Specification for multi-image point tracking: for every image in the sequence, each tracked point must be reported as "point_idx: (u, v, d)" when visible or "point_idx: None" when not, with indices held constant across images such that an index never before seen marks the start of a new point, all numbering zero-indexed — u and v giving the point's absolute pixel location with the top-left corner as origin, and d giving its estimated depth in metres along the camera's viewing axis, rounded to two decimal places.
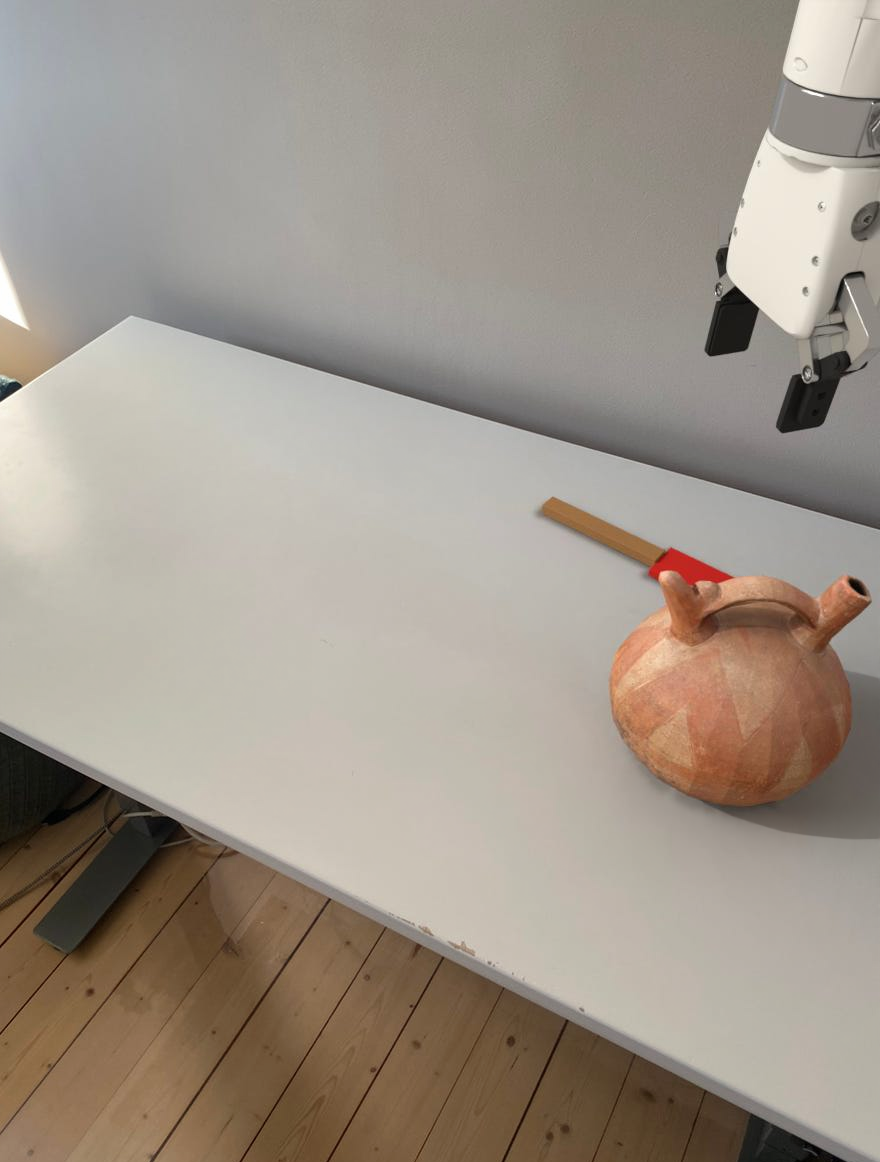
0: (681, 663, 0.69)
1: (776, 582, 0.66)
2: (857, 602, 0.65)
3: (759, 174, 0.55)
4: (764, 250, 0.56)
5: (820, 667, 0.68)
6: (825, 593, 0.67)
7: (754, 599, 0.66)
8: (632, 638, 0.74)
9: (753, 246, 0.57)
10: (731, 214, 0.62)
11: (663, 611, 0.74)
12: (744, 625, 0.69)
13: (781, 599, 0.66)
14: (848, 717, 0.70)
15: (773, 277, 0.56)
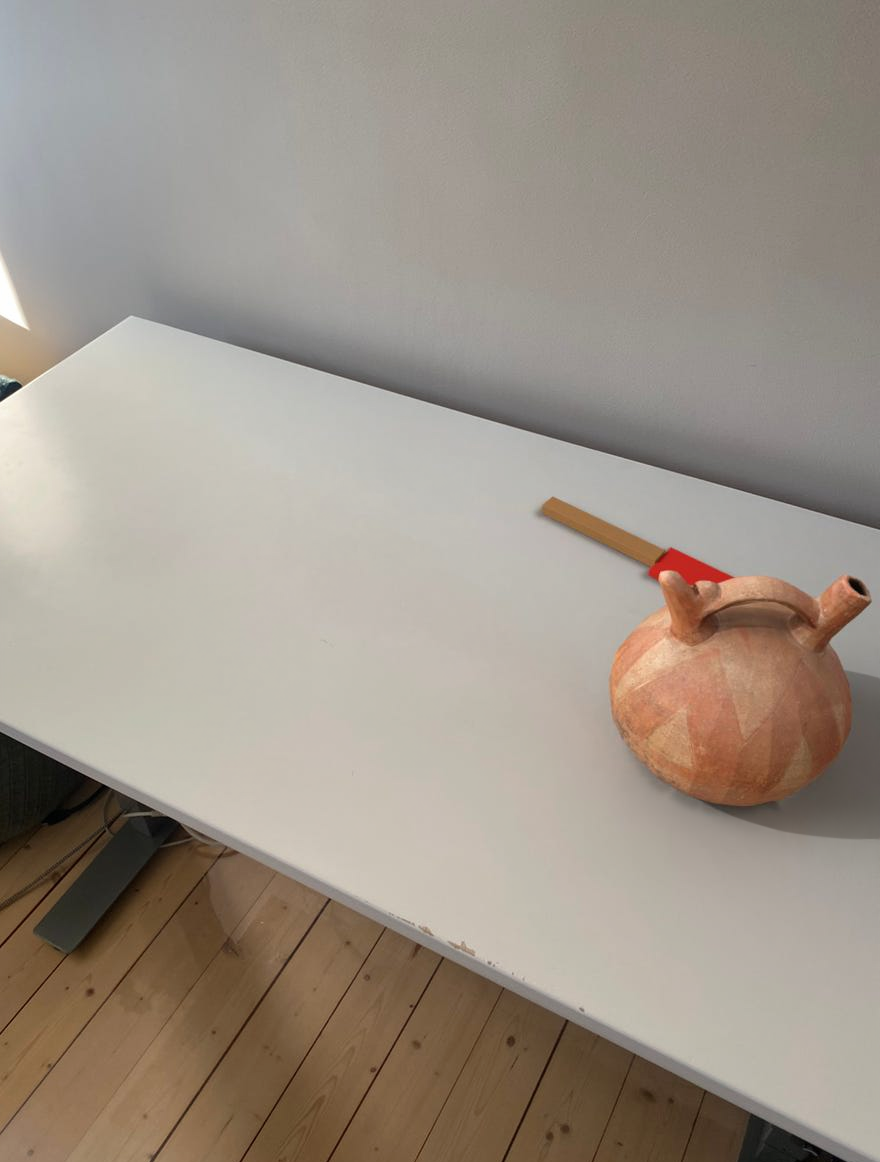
0: (681, 663, 0.69)
1: (776, 582, 0.66)
2: (857, 602, 0.65)
3: None
4: None
5: (820, 666, 0.68)
6: (824, 593, 0.67)
7: (754, 599, 0.66)
8: (632, 638, 0.74)
9: None
10: None
11: (663, 611, 0.74)
12: (744, 625, 0.69)
13: (781, 599, 0.66)
14: (848, 717, 0.70)
15: None
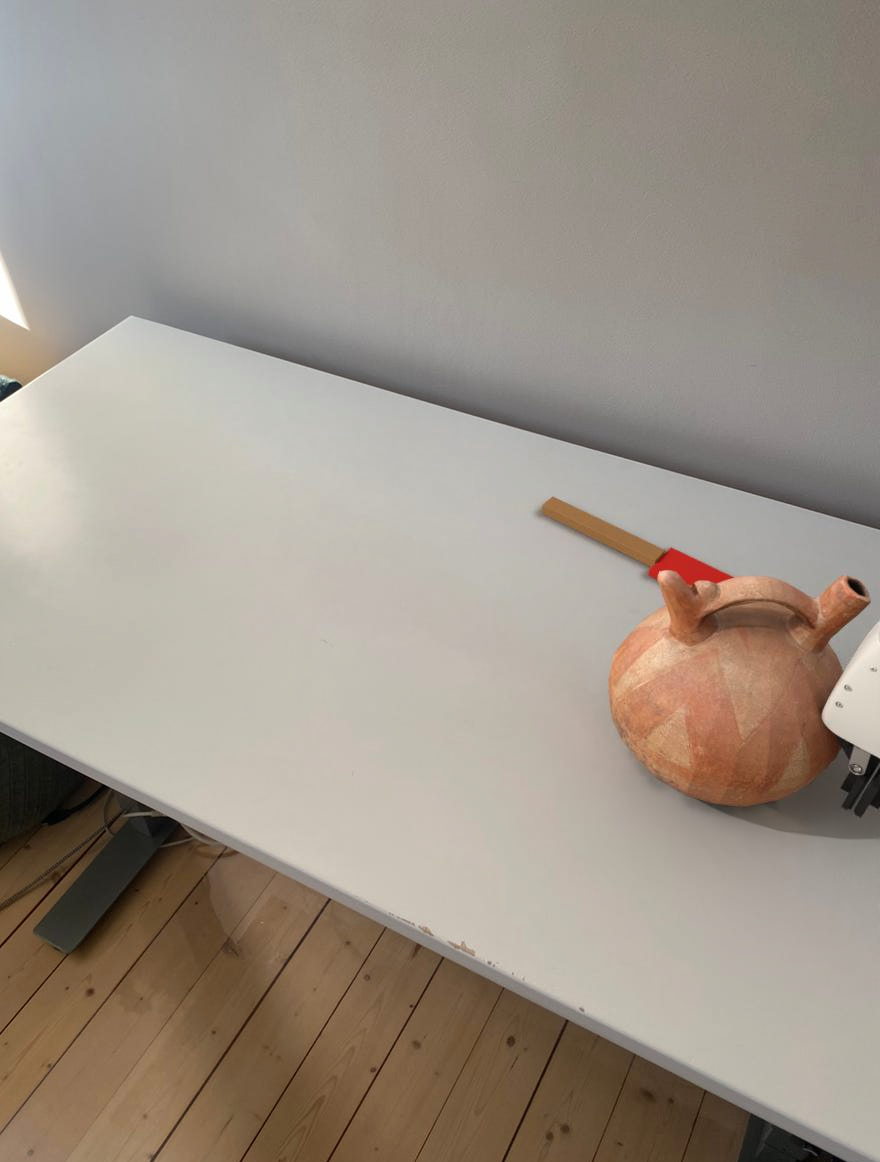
0: (680, 663, 0.69)
1: (775, 582, 0.66)
2: (856, 602, 0.65)
3: (877, 678, 0.61)
4: None
5: (819, 667, 0.68)
6: (824, 593, 0.67)
7: (753, 599, 0.66)
8: (631, 638, 0.74)
9: (876, 724, 0.63)
10: None
11: (662, 611, 0.74)
12: (743, 625, 0.69)
13: (780, 599, 0.66)
14: None
15: None
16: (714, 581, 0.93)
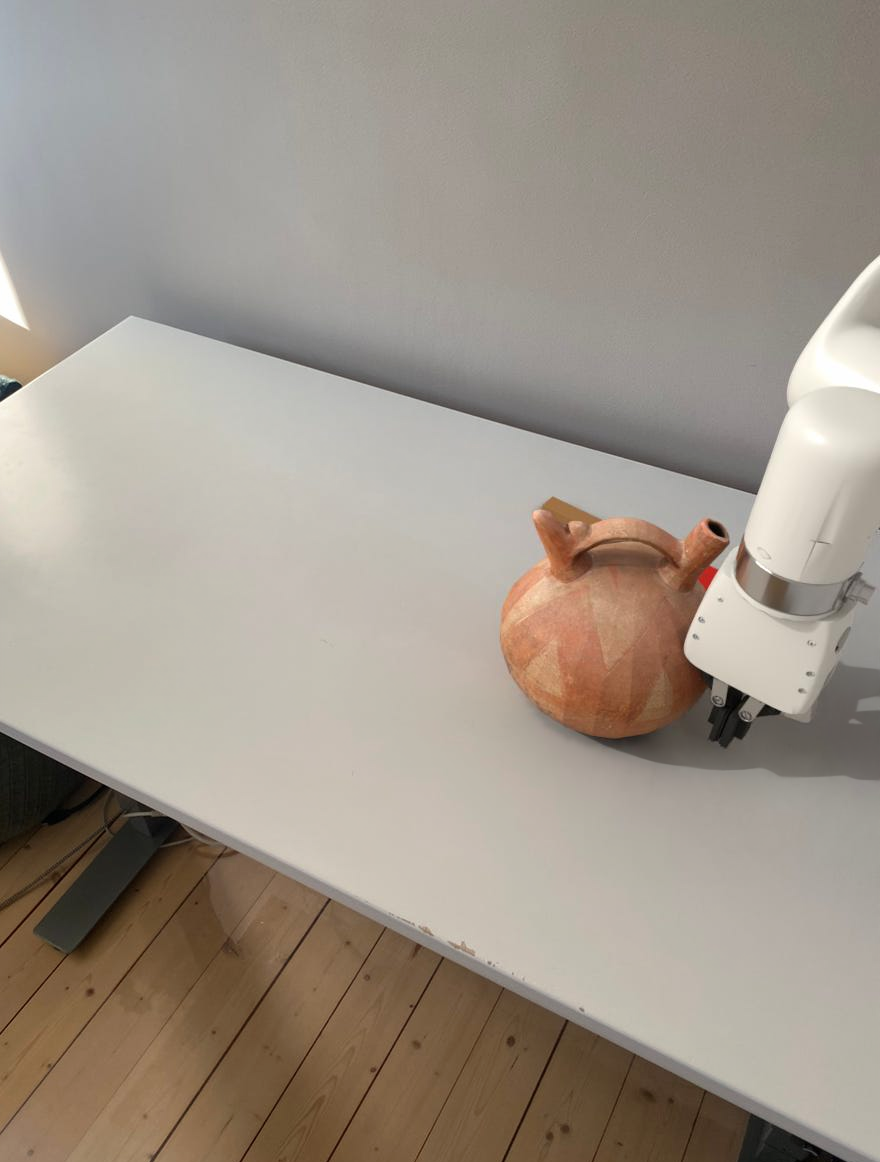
0: (555, 598, 0.74)
1: (641, 523, 0.71)
2: (713, 542, 0.69)
3: (724, 608, 0.65)
4: (744, 659, 0.67)
5: (684, 605, 0.73)
6: (688, 535, 0.72)
7: (619, 538, 0.71)
8: (520, 579, 0.79)
9: (727, 653, 0.68)
10: None
11: None
12: (615, 565, 0.73)
13: (644, 538, 0.70)
14: None
15: (759, 677, 0.67)
16: None
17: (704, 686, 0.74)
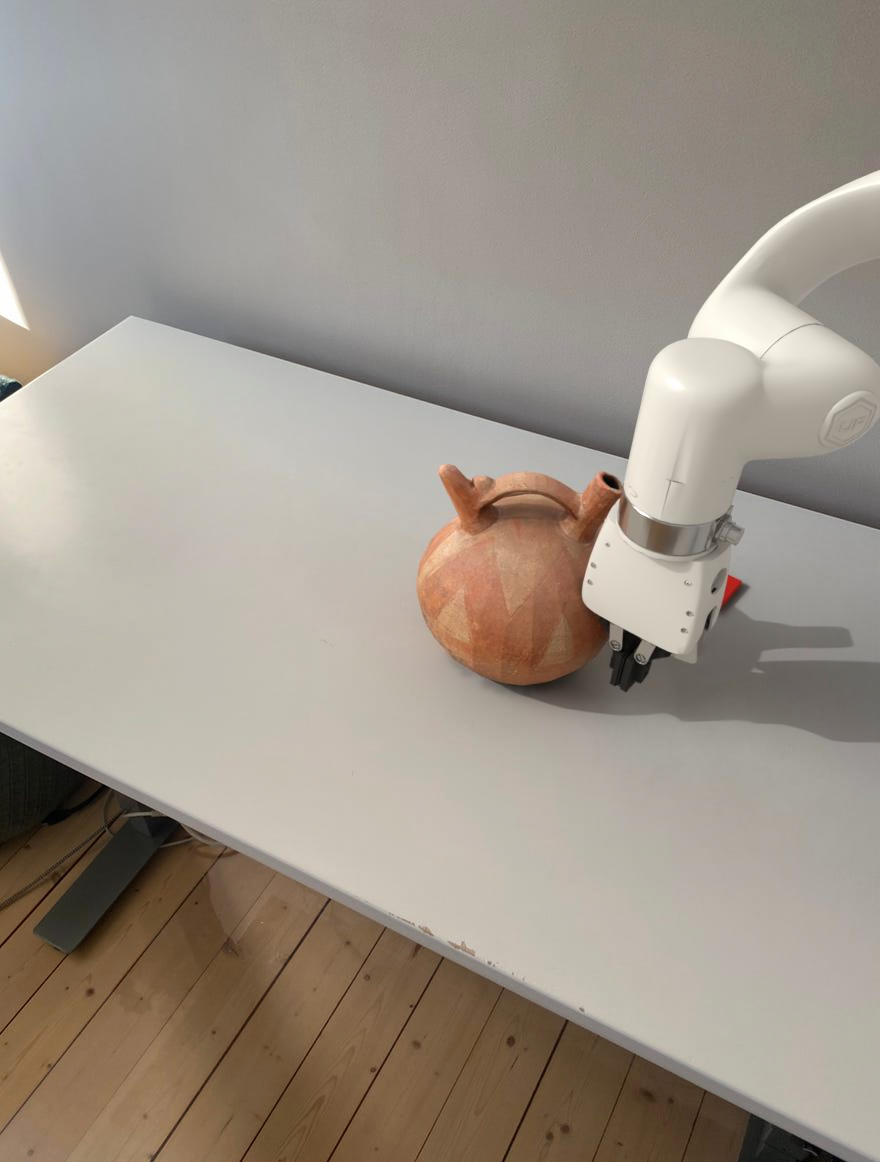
0: (463, 550, 0.78)
1: (541, 476, 0.75)
2: (607, 494, 0.74)
3: (611, 552, 0.70)
4: (632, 601, 0.71)
5: (583, 555, 0.77)
6: (586, 488, 0.76)
7: (519, 490, 0.75)
8: (436, 534, 0.83)
9: (617, 596, 0.72)
10: None
11: None
12: (519, 518, 0.77)
13: (542, 491, 0.74)
14: None
15: (646, 619, 0.71)
16: None
17: (605, 633, 0.78)
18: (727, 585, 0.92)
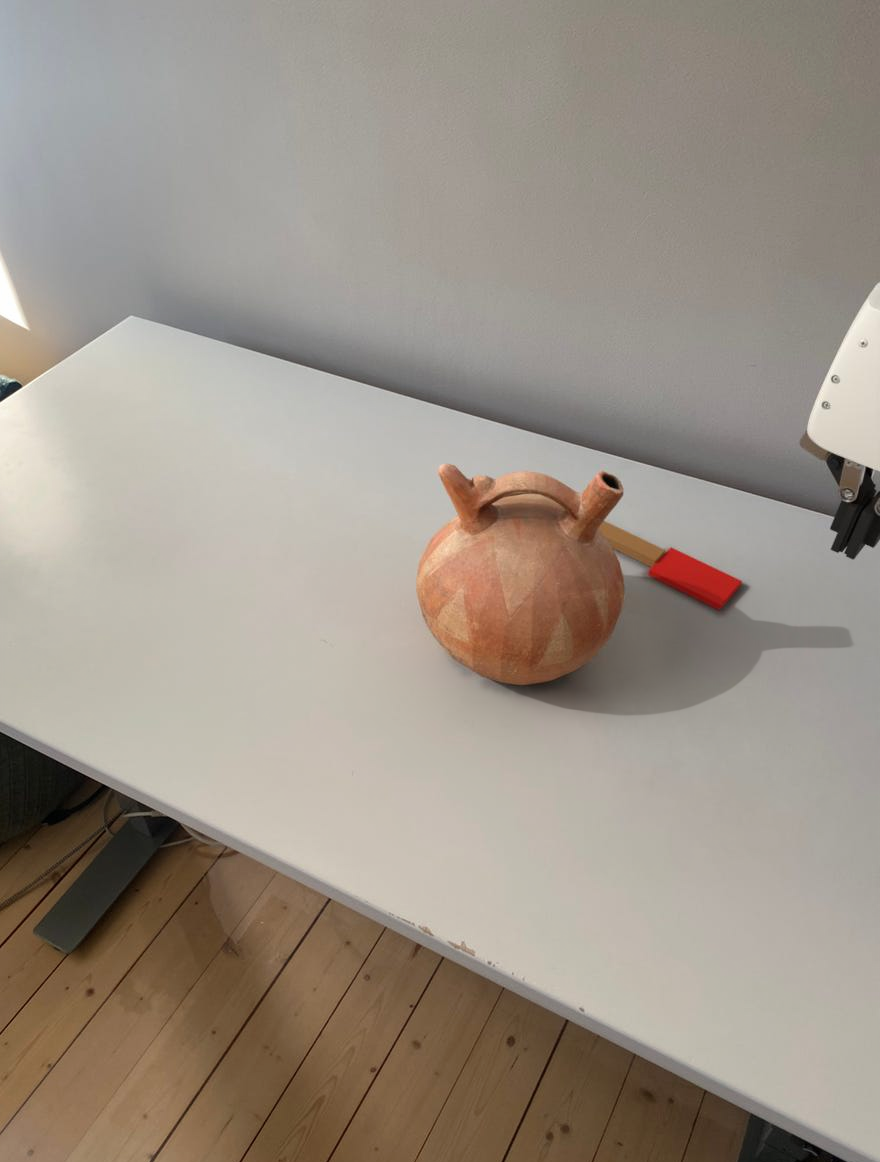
0: (463, 549, 0.78)
1: (541, 476, 0.75)
2: (607, 493, 0.74)
3: (868, 354, 0.53)
4: None
5: (583, 555, 0.77)
6: (586, 488, 0.76)
7: (519, 490, 0.75)
8: (435, 534, 0.83)
9: (868, 419, 0.55)
10: None
11: None
12: (519, 517, 0.77)
13: (542, 490, 0.74)
14: (612, 603, 0.78)
15: None
16: (714, 581, 0.93)
17: (604, 632, 0.78)
18: (727, 585, 0.92)
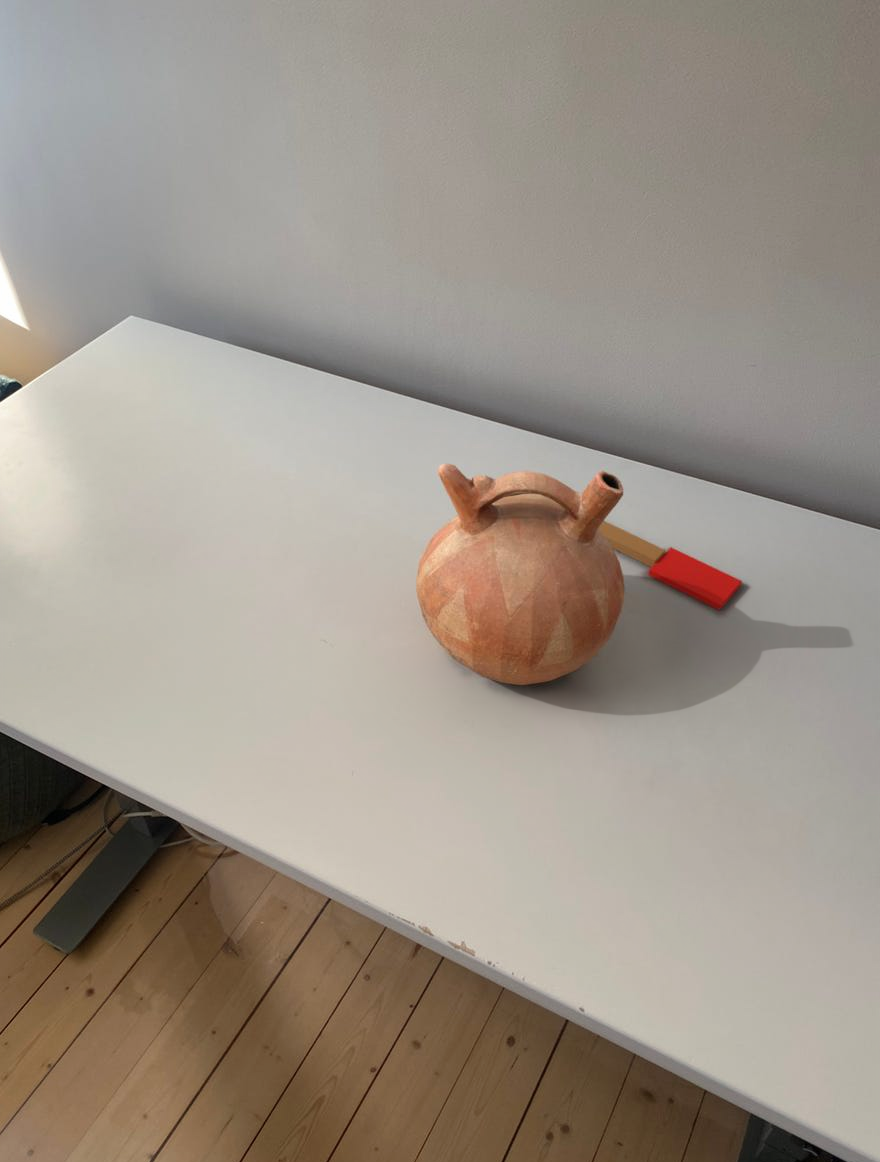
0: (463, 549, 0.78)
1: (541, 476, 0.75)
2: (607, 493, 0.74)
3: None
4: None
5: (583, 554, 0.77)
6: (586, 488, 0.76)
7: (519, 490, 0.75)
8: (435, 534, 0.83)
9: None
10: None
11: None
12: (519, 517, 0.77)
13: (542, 490, 0.74)
14: (612, 603, 0.78)
15: None
16: (714, 581, 0.93)
17: (604, 632, 0.78)
18: (727, 585, 0.92)
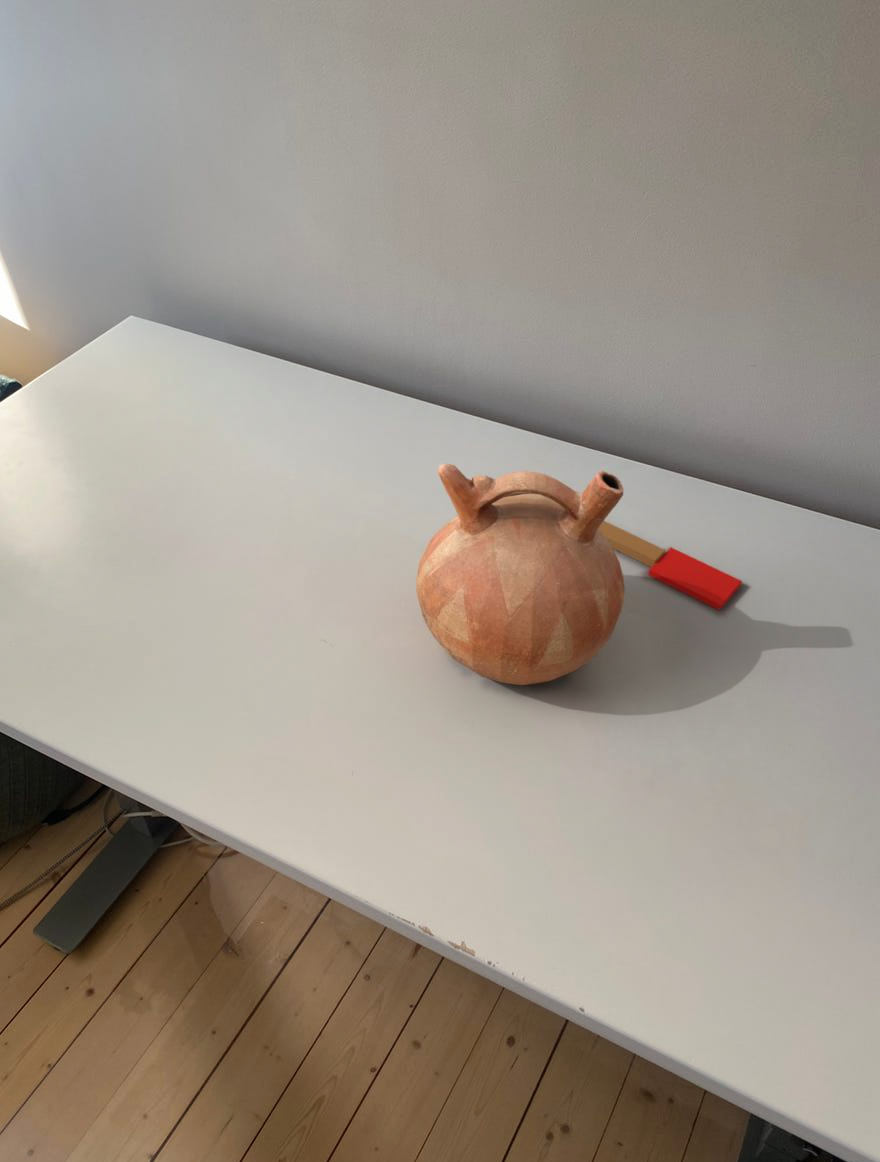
0: (463, 549, 0.78)
1: (541, 476, 0.75)
2: (607, 493, 0.74)
3: None
4: None
5: (583, 555, 0.77)
6: (586, 488, 0.76)
7: (519, 490, 0.75)
8: (435, 534, 0.83)
9: None
10: None
11: None
12: (519, 517, 0.77)
13: (542, 490, 0.74)
14: (612, 603, 0.78)
15: None
16: (714, 581, 0.93)
17: (604, 632, 0.78)
18: (727, 585, 0.92)
